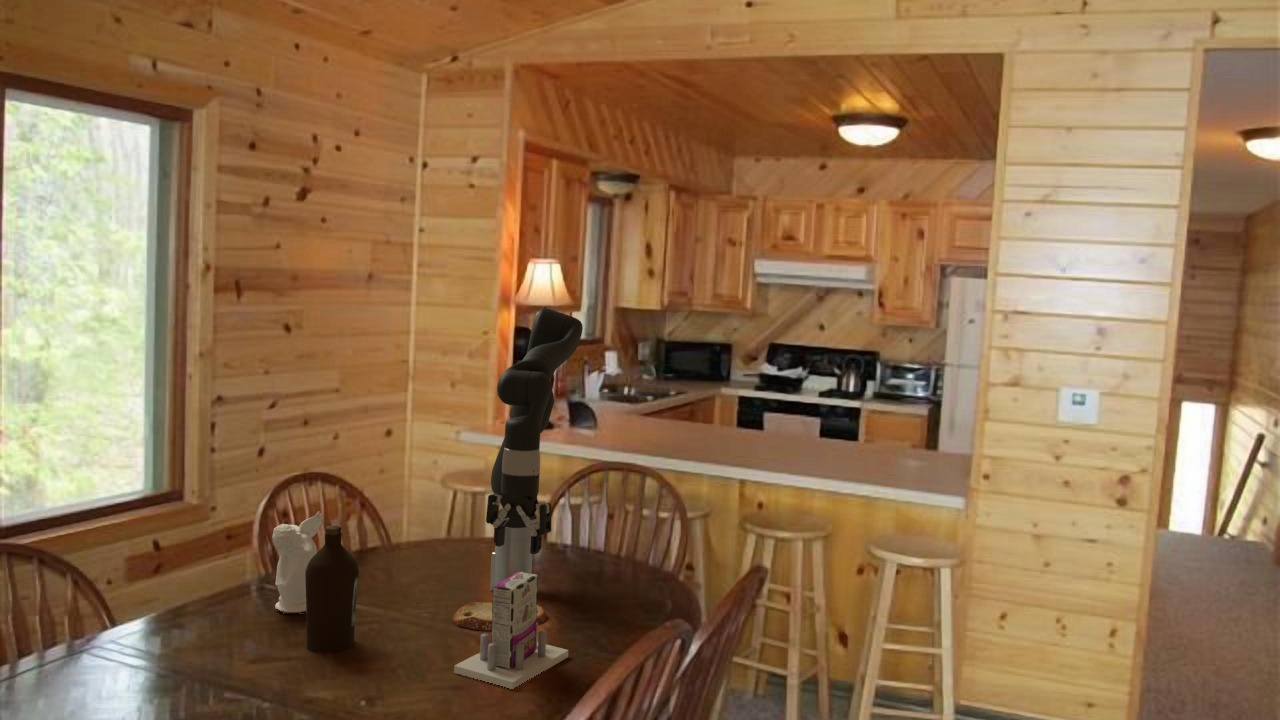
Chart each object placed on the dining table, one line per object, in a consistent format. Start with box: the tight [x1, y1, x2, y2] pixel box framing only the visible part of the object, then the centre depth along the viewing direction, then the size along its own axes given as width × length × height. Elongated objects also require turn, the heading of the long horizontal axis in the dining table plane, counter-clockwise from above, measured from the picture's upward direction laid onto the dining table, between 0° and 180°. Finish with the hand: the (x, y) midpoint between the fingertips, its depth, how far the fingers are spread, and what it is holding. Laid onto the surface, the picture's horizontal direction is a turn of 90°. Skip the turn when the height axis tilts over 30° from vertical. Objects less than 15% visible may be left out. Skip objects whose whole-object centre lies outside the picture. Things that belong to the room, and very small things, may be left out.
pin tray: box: [453, 622, 569, 690], centre depth 202 cm, size 14×20×6 cm
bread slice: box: [450, 601, 547, 631], centre depth 228 cm, size 18×18×4 cm
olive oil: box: [305, 524, 360, 653], centre depth 207 cm, size 11×11×25 cm
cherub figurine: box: [271, 510, 324, 612], centre depth 229 cm, size 12×12×22 cm
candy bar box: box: [490, 572, 539, 669], centre depth 201 cm, size 11×5×16 cm, turn 160°
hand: (517, 549), depth 200 cm, fingers open, 8 cm apart
